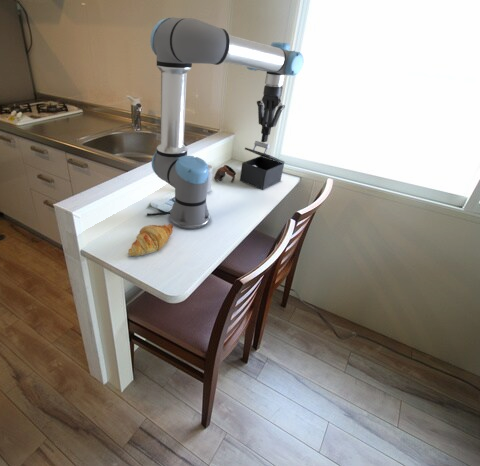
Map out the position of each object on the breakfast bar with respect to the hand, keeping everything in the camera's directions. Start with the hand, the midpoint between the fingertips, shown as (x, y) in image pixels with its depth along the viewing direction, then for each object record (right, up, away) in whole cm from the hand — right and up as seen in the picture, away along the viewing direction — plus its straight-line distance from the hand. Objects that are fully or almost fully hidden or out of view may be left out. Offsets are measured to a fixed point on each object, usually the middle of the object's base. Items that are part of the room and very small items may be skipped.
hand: (264, 141), depth 147 cm
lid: (+2, -5, +6) cm, 8 cm away
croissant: (-47, -46, -38) cm, 76 cm away
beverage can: (-28, -23, -1) cm, 36 cm away
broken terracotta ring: (-18, -16, +11) cm, 26 cm away
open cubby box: (+1, -16, +12) cm, 20 cm away
